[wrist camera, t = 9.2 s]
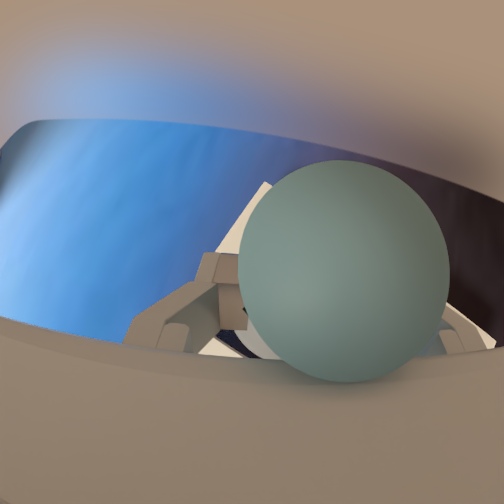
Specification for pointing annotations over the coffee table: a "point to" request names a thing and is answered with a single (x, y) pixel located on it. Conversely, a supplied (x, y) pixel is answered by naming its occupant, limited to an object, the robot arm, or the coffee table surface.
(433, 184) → the coffee table surface
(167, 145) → the coffee table surface
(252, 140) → the coffee table surface
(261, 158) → the coffee table surface
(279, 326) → the round-topped green peg
